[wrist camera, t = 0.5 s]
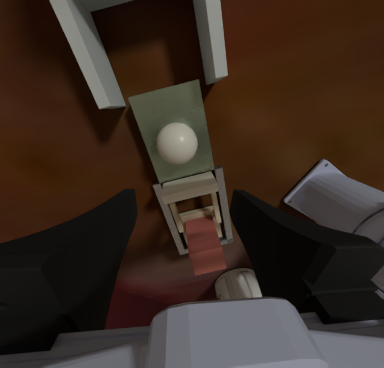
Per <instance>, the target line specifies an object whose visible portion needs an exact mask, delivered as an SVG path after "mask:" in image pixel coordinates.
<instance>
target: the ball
mask: <svg viewBox="0 0 384 368" xmlns="http://www.w3.org/2000/svg"><path fill="white" fill-rule="evenodd" d="M197 146H198V142H197V137H196V135H195V133H194V131H193V130H192V129H191V128H190V127H189V126H187V125H185V124H183V123H178V122H176V123H170V124H168V125H166V126H165V127H164V128H162V130H161V131H160V132H159V134H158V137H157V149H158V152H159V154H160V155H161V157H162V158H163V159H164V160H165V161H167V162H169V163H171V164H177V165H178V164H184V163H186V162H188V161H190V160H191V159H192V158H193V157H194V155H195V153H196V151H197Z"/></svg>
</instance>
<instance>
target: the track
mask: <svg viewBox="0 0 384 368" xmlns="http://www.w3.org/2000/svg"><path fill="white" fill-rule="evenodd" d="M128 99H129V102H130V104H131V107H132V110H133V113H134V115H135V118H136V121H137V123H138V126H139V129H140V132H141V134H142V137H143V140H144V142H145V145H146V148H147V151H148V153H149V156H150V159H151V161H152V164H153V167H154V169H155V172H156V175H157V178H158V180H159V181H156V182H153V188H154V190H155V193H156V195H157V198H158V200H159V203H160V205H161V208H162V210H163V213H164V215H165V218H166V220H167V223H168V225H169V228H170V231H171V233H172V236H173V238H174V241H175V243H176V246H177V248H178V251H179V253H180V255H182V254H187V253H188V245H184V243H183V241H182V238H181V235H180V233H179V230H178V227H177V225H176V222H175V219H174V216H173V214H172V211H171V208H170V205H169V204H165V205H164V203H163V201H162V198H161V195H162V188H163V185H162V182H166V181H170V180H174V179H178V178H182V177H186V176H190V175H194V174H198V173H202V172H206V171H210V170H214V174H215V179H216V181H217V184H218V189H219V191H218V197H219V202H220V208H221V214H222V219H223V225H224V231H225V235H224V236H222V237H219V240H220V243H221V245H224V244H228V243H232V242H233V236H232V230H231V223H230V216H229V209H228V203H227V196H226V189H225V182H224V176H223V169H222V167H221V165H220V166H216V167H214V164H213V158H212V152H211V146H210V141H209V135H208V129H207V123H206V118H205V112H204V106H203V101H202V95H201V89H200V83H199V79H198V80H194V81H190V82H186V83H182V84H178V85H175V86H171V87H167V88H163V89H159V90H156V91H152V92H148V93H144V94H140V95H137V96H133V97H129V98H128ZM176 122H178V123H183V124H185V125H187V126H189V127H190V128H191V129H192V130H193V131H194V133H195V135H196V137H197V142H198V146H197V151H196V153H195V155H194V157H193V158H192V159H191V160H190V161H188V162H186V163H184V164H178V165H177V164H171V163H169V162H167V161H165V160H164V159H163V158H162V157H161V155H160V154H159V152H158V149H157V137H158V134H159V132H160V131H161V130H162V128H164V127H165V126H166V125H168V124H170V123H176Z"/></svg>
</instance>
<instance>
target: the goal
mask: <svg viewBox="0 0 384 368" xmlns="http://www.w3.org/2000/svg"><path fill="white" fill-rule="evenodd" d="M129 1H133V0H50V3H51V5H52V7H53V9H54V11H55V14H56V16H57V18H58V20H59V22H60V24H61V27H62V29H63V31H64V33H65V35H66V38H67V40H68V42H69V44H70V46H71V48H72V51H73V53H74V55H75V57H76V59H77V62H78V64H79V66H80V68H81V70H82V72H83V75H84V77H85V79H86V81H87V83H88V86H89V88H90V90H91V92H92V94H93V96H94V99H95V101H96V103H97V105H98V107H99V109H113V108H121V107H124V106H126V105H125V102H124V99H123V97H122V94H121V91H120V89H119V86H118V84H117V81H116V78H115V76H114V73H113V71H112V68H111V65H110V63H109V60H108V57H107V55H106V52H105V50H104V47H103V44H102V42H101V39H100V37H99V34H98V31H97V29H96V26H95V23H94V21H93V18H92V16H91V13H90V12H93V11H96V10H100V9H104V8H107V7H111V6H114V5H118V4H122V3H125V2H129ZM193 4H194V11H195V17H196V23H197V30H198V36H199V42H200V49H201V55H202V61H203V68H204V74H205V80H206V85H209V84H212V83H216V82H217V81H219V80H221V79H222V78H224V77H226V76H227V75H228V73H227V63H226V53H225V43H224V33H223V23H222V14H221V4H220V0H193Z"/></svg>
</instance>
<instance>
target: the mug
mask: <svg viewBox="0 0 384 368" xmlns="http://www.w3.org/2000/svg"><path fill="white" fill-rule="evenodd" d="M215 291H216V295H217V300H227V299H241V298H255V297H262V295H261V291H260V288H259V285H258V282H257V279H256V276H255V273H254V270H251V269H248V268H238V269H233V270H230V271H228V272H226V273H224V274H222V275H221V276H220V277H219V278H218V279H217V281H216V283H215Z"/></svg>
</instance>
